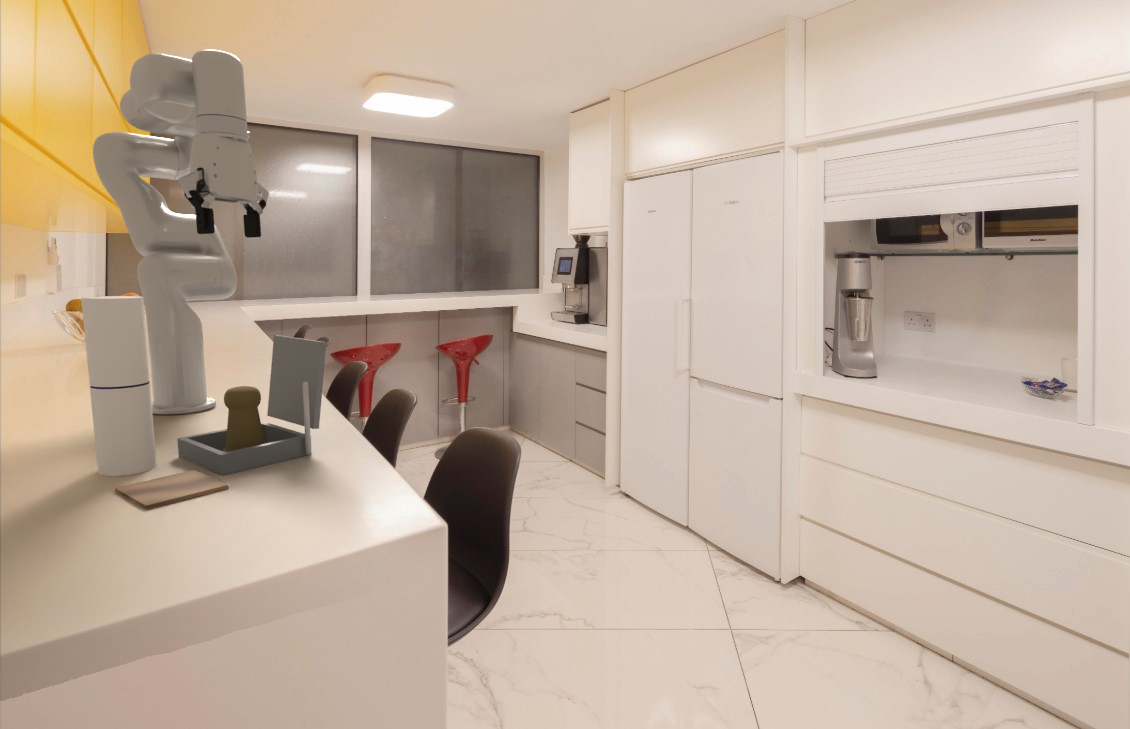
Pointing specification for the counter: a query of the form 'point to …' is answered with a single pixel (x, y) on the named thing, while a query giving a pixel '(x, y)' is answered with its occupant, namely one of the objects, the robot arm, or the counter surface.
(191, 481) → the walnut pad
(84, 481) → the counter surface
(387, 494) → the counter surface
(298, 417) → the case lid
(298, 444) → the case
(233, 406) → the cork
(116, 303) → the cylindrical container
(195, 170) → the robot arm
